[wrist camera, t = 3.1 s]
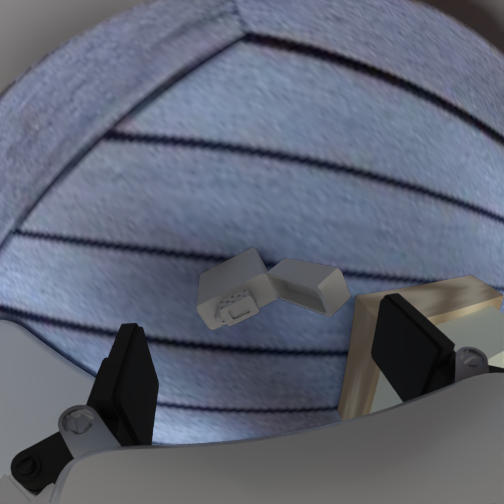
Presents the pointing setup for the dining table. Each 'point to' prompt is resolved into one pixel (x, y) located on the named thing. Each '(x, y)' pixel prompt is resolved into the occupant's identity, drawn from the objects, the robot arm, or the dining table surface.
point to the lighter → (266, 288)
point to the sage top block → (458, 347)
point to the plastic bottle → (33, 390)
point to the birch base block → (425, 301)
